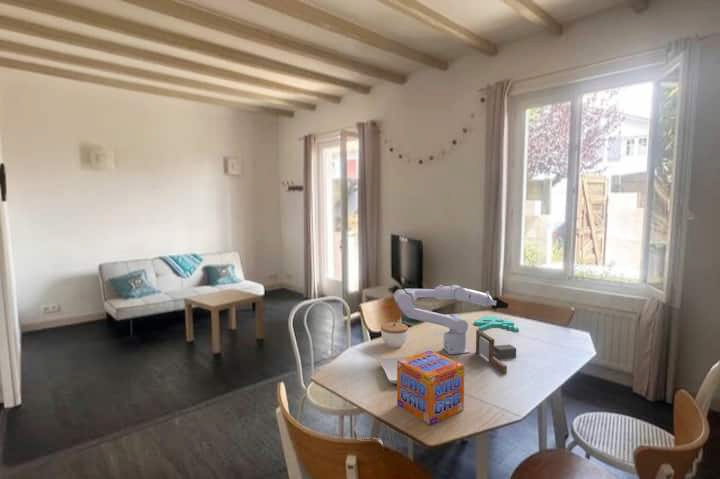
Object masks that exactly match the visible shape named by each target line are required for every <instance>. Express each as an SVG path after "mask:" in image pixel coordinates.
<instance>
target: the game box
mask: <svg viewBox="0 0 720 479" xmlns="http://www.w3.org/2000/svg"><path fill="white" fill-rule="evenodd" d="M407 357H408V358H405V359H402V360H398V361H397V384H396V386H397V387H396V393H397V395H396V396H397V397H396V398H397V399H396V401H397V402H396V403H397V404H396V405H397V406H399V407H400V408H402V409H403V410H404V411H407V413H409V414H411V415H412V416H414V417H416V418H417V419H419V420H421V421H422V422H424V423H425V424H427V425H428V426H432V425H434V424H436V423H438V422H440V421H443V420H444V419H447V418H449V417H451V416H453V415H456V414H457V413H460V412H462V411H464V409H465V405H464V404H465V403H464V402H465V364H463V363H460V362H458V361H456V360H453V359H451V358H448V357H446V356H444V355H441V354H439V353H437V352H435V351H432V350H427V351H425V352H421V353H418V354H417V353H416V354H414V355H412V356H407Z"/></svg>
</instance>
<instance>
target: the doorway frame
mask: <svg viewBox="0 0 720 479" xmlns="http://www.w3.org/2000/svg"><path fill="white" fill-rule="evenodd" d="M475 331H476V334H475V336H476V337H475V353H476V354H481V353H480V352H479V337H482V338H483V339H485V340H486V341H488V342H489V359H488V363H489V364H490V365H491V366H493V367H494V368H495V369H497V371H499V372H500V373H502V374H503V375H504V374H505V375H506V374H507V373H508V370H507V369H508V366H507V364H505V363H503V362H502V361H501V360H500V359H497V358H495V357H494V346H495V339H494V338H493V337H491V336H490V335H488V334H487V333H485V332H484V331H481V330H478V329H476V330H475Z"/></svg>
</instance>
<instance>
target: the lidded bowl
mask: <svg viewBox="0 0 720 479" xmlns="http://www.w3.org/2000/svg"><path fill="white" fill-rule="evenodd" d="M380 329H381V331H380V332H381V333H380V334H381V338H382V341H383V342H384V343H385V345H386V347H388V348H392V349H398V348H402V347H403V345H404V344H405V343H406V341H407V338H408V333H409V332H408V329H409V327H408V325H406V324H404V323H401V322H395V321H394V322H385V323H384V324H382V325H381V327H380Z"/></svg>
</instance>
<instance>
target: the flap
mask: <svg viewBox="0 0 720 479" xmlns="http://www.w3.org/2000/svg"><path fill="white" fill-rule="evenodd" d="M479 352H480V353H479V354H480V355H482V356H483V357H485V358H486V359H488V360H489V342H488V341H487V340H485V339H484V338H482V337H479Z"/></svg>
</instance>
